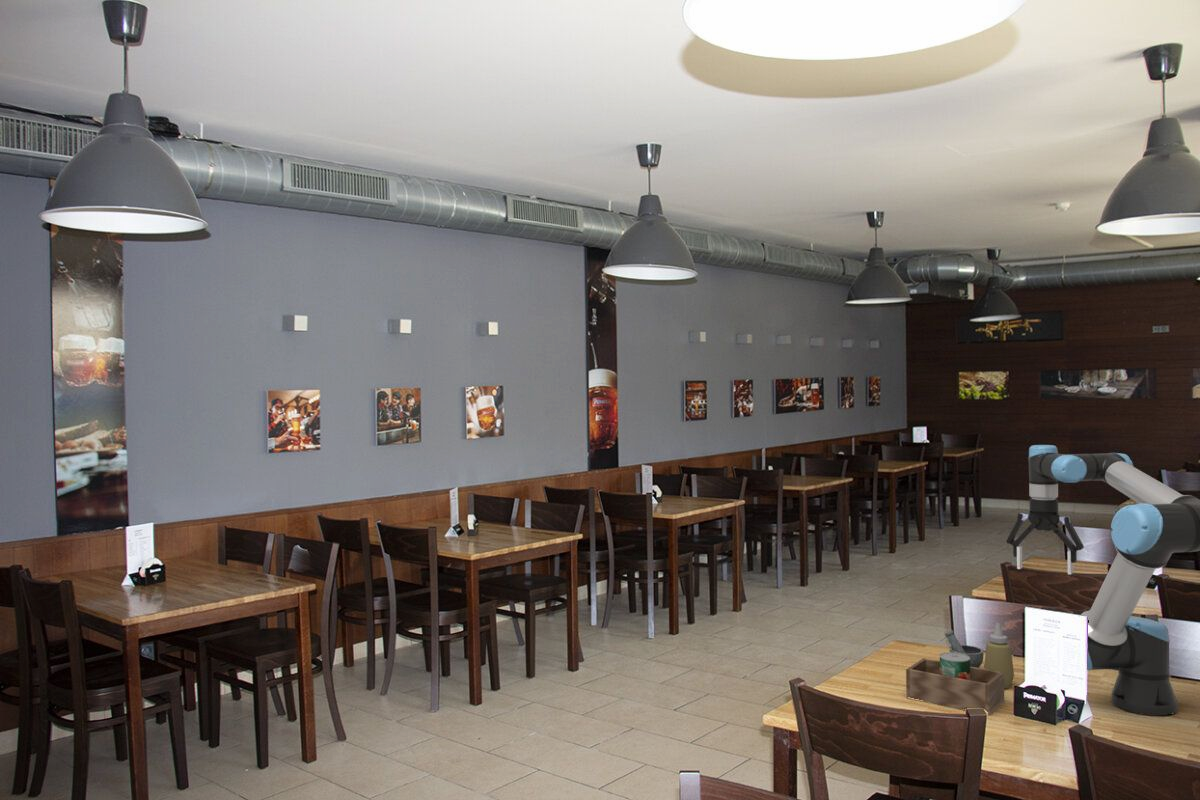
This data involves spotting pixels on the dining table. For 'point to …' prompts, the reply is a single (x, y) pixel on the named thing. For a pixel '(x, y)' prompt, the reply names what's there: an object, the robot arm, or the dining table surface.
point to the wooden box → (955, 687)
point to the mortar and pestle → (965, 650)
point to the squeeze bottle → (999, 655)
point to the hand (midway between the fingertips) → (1044, 571)
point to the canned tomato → (955, 665)
